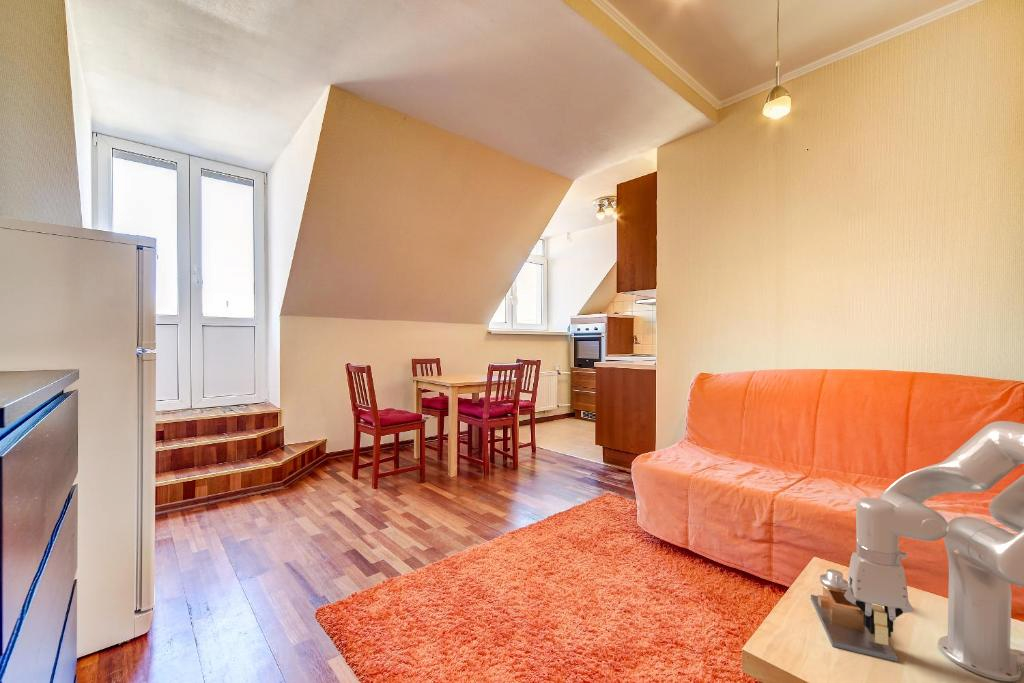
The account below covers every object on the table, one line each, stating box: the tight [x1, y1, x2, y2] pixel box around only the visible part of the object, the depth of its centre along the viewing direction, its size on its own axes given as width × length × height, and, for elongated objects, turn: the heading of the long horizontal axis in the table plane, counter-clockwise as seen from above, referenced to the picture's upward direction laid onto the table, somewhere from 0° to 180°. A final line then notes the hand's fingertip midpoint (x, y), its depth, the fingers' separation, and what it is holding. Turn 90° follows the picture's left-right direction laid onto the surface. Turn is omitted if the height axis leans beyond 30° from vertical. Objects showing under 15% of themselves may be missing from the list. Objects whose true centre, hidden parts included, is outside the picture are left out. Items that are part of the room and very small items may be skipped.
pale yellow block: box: [869, 604, 889, 645], centre depth 100 cm, size 2×4×7 cm, turn 157°
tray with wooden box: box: [810, 568, 898, 663], centre depth 108 cm, size 12×22×9 cm, turn 157°
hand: (878, 631), depth 100 cm, fingers closed on pale yellow block, 2 cm apart
